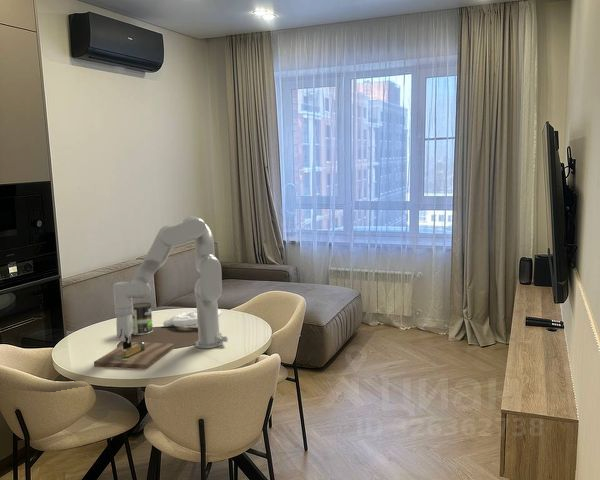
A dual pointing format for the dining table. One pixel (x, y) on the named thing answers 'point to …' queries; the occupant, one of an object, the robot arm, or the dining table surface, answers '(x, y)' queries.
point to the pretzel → (184, 319)
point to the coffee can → (142, 319)
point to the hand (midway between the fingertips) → (127, 351)
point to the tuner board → (135, 356)
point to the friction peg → (133, 349)
